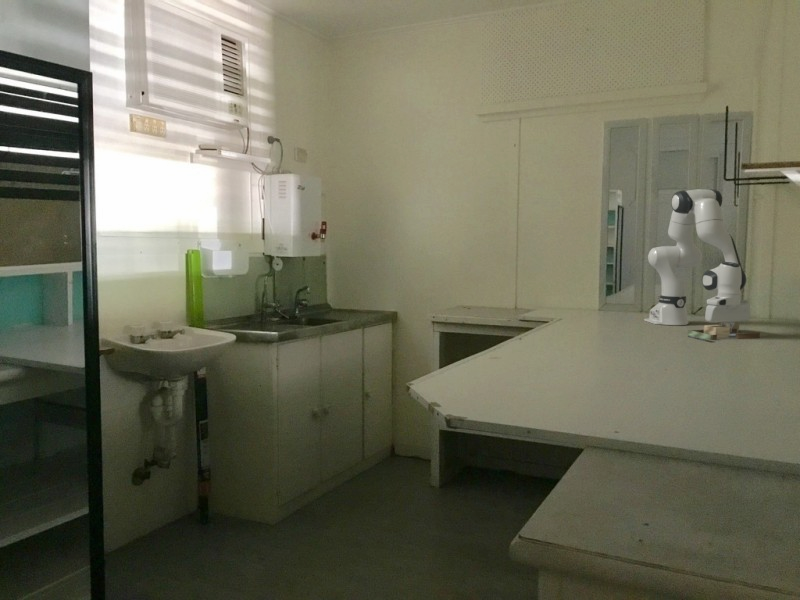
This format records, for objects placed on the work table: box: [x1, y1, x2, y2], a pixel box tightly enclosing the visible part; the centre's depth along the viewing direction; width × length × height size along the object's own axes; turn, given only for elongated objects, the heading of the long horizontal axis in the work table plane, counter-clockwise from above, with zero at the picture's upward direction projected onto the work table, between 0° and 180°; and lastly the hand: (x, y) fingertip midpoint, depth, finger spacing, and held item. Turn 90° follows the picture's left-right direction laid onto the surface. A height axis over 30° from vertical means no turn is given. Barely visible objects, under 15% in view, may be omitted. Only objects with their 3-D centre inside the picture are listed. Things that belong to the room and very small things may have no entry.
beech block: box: [703, 324, 730, 338], centre depth 265 cm, size 7×7×4 cm
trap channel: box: [687, 328, 761, 343], centre depth 267 cm, size 14×24×3 cm, turn 103°
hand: (727, 332), depth 267 cm, fingers closed
